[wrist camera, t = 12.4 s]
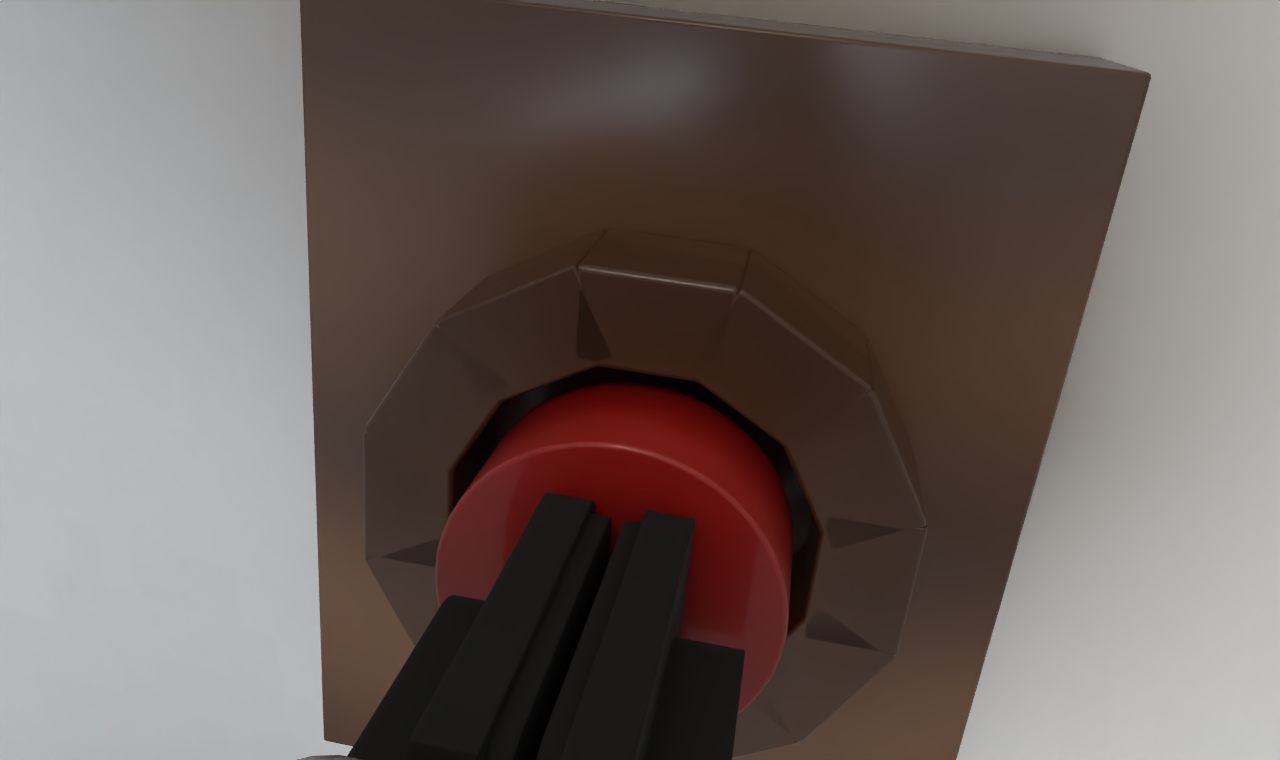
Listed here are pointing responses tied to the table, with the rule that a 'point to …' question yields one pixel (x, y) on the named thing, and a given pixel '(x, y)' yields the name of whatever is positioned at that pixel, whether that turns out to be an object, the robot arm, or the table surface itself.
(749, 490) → the button
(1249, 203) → the table surface
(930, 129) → the control block
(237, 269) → the table surface
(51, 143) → the table surface
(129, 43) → the table surface
